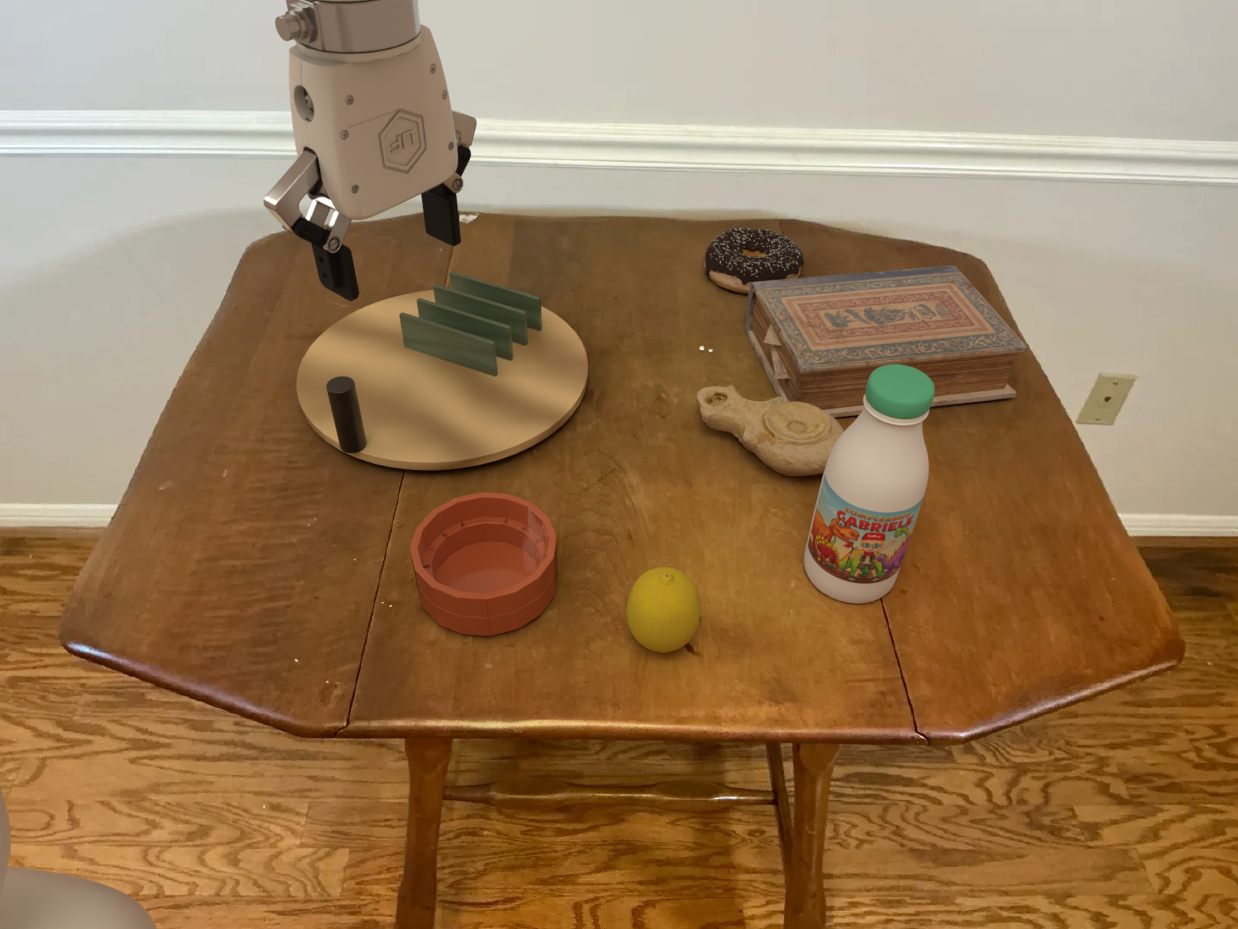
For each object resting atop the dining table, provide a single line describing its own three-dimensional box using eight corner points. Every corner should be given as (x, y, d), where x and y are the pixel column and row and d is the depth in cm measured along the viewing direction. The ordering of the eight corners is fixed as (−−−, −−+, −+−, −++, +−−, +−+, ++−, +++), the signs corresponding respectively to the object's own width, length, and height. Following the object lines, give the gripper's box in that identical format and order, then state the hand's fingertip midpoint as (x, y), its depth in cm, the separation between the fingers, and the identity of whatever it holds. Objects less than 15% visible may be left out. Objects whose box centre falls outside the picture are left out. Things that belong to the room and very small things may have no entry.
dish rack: (488, 515, 82) (481, 445, 76) (229, 415, 90) (206, 346, 85) (635, 339, 101) (638, 274, 96) (410, 271, 110) (401, 208, 105)
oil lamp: (693, 412, 94) (697, 372, 91) (837, 422, 94) (847, 382, 90) (691, 486, 86) (696, 445, 83) (849, 496, 86) (860, 456, 83)
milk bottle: (790, 542, 82) (831, 353, 68) (874, 532, 83) (931, 344, 69) (820, 612, 76) (871, 421, 62) (910, 600, 77) (979, 410, 64)
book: (1034, 346, 92) (790, 371, 88) (1014, 401, 97) (781, 426, 93) (956, 259, 105) (739, 277, 101) (941, 311, 109) (733, 330, 105)
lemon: (626, 673, 71) (630, 606, 66) (623, 615, 75) (626, 547, 70) (699, 672, 71) (709, 605, 66) (692, 614, 75) (701, 546, 70)
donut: (702, 248, 118) (704, 219, 115) (796, 252, 118) (801, 223, 115) (704, 297, 110) (707, 267, 107) (806, 301, 110) (811, 271, 107)
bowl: (512, 660, 72) (508, 619, 68) (390, 607, 75) (381, 565, 72) (580, 561, 79) (580, 520, 76) (467, 517, 83) (462, 476, 79)
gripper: (274, 71, 50) (332, 337, 62) (501, -5, 60) (514, 236, 72) (191, 37, 53) (262, 296, 65) (420, -29, 64) (445, 205, 75)
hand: (394, 264), depth 68 cm, fingers open, 9 cm apart
